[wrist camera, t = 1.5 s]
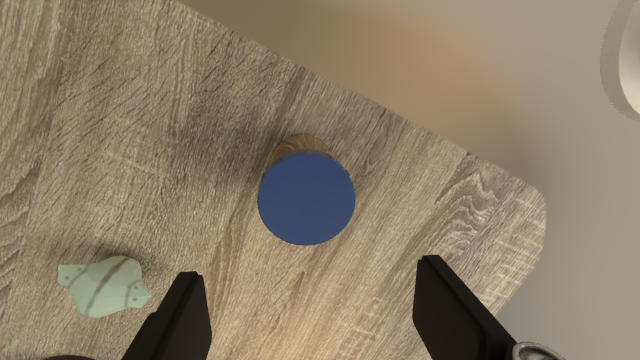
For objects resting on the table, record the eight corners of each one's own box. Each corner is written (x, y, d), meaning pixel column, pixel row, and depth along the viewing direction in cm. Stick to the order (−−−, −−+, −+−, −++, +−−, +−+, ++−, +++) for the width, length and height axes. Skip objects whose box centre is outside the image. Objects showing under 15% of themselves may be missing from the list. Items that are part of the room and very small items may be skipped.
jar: (300, 120, 28) (305, 136, 19) (345, 163, 30) (368, 196, 21) (257, 166, 29) (242, 202, 20) (303, 205, 31) (308, 254, 22)
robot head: (174, 260, 31) (144, 305, 25) (161, 290, 32) (129, 341, 26) (95, 232, 30) (41, 272, 23) (84, 264, 30) (28, 312, 24)
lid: (304, 128, 20) (305, 132, 19) (369, 190, 22) (375, 199, 20) (240, 196, 21) (236, 205, 20) (307, 250, 23) (309, 262, 21)
